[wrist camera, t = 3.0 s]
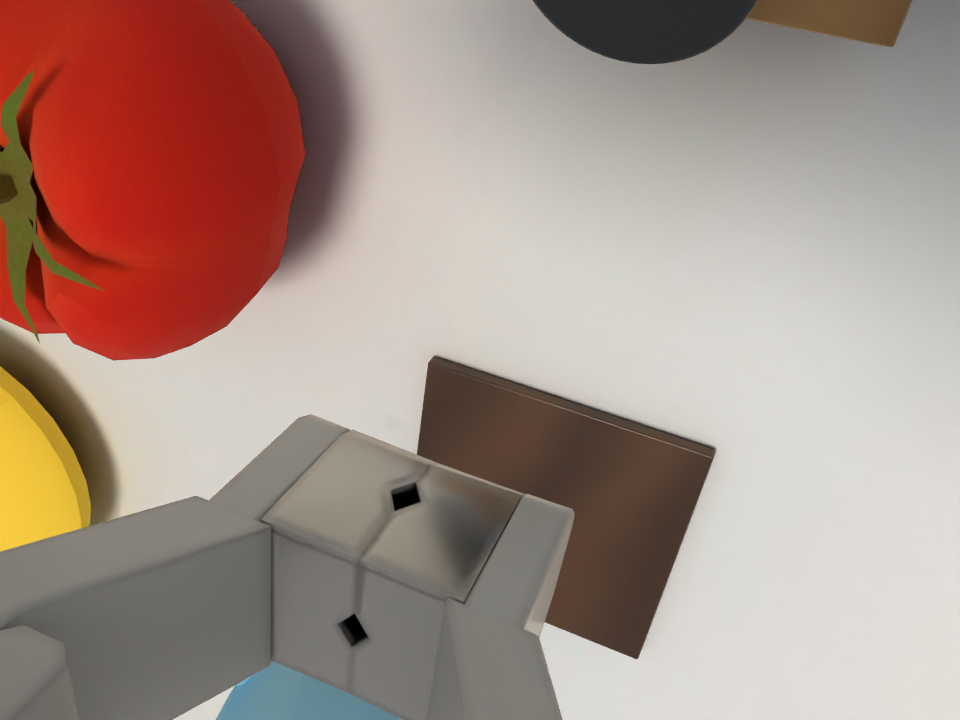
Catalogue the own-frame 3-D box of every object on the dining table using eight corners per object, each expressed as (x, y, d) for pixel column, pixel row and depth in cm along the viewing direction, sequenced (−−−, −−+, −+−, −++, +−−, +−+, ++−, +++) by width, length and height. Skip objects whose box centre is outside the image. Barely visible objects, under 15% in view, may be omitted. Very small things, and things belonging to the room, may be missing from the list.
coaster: (715, 448, 31) (713, 457, 30) (640, 650, 37) (637, 660, 37) (433, 355, 34) (427, 362, 33) (407, 557, 40) (402, 565, 40)
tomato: (394, 27, 28) (165, 83, 18) (309, 341, 36) (118, 494, 26) (86, -124, 30) (-272, -145, 20) (70, 208, 38) (-192, 306, 28)
